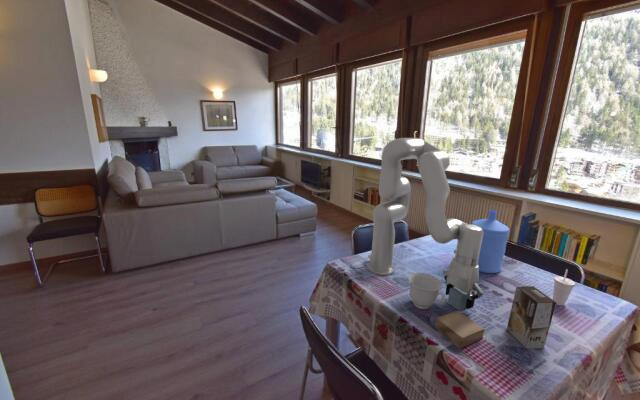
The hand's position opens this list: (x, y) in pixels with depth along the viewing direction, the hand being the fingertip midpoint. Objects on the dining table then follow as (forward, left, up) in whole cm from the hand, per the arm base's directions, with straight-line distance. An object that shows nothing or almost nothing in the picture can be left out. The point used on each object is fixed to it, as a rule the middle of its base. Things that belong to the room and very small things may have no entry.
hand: (458, 300), depth 109 cm
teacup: (-3, -13, -2) cm, 14 cm away
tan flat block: (+11, -13, -2) cm, 17 cm away
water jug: (-19, +37, -2) cm, 42 cm away
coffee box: (+21, +6, -2) cm, 22 cm away
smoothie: (+13, +39, -2) cm, 41 cm away
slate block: (0, 0, -2) cm, 2 cm away
